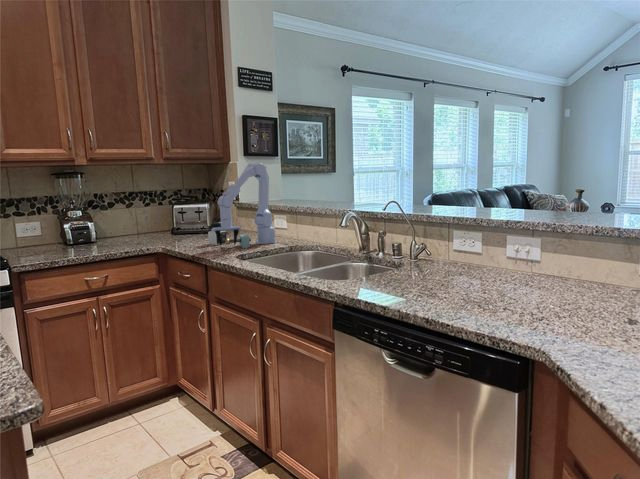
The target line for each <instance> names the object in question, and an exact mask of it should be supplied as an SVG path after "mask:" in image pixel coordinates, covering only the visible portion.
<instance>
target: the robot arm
mask: <svg viewBox="0 0 640 479" xmlns="http://www.w3.org/2000/svg"><path fill="white" fill-rule="evenodd" d="M252 177H254V178H255V179H257V181H258V205H257V206H258V209H257V211H256V212H255V217H254V218H253V220H254V224H255V225H256V229H257V230H256V231H257V233H256V234H257V240H256V244H258V245H263V244H276V234H275V231H276V230H275V226H272V224H273V217H272V212H271V211H270V210H269V200H270V199H269V197H270V196H269V193H270V190H269V188H270V187H269V186H270V176H269V174H268V171H267V167H266V165H265V164H264V163H262V162H250V163H248V164H247V166H246V167H244V170H243V171H242V173H241V175H240V176H239V177H238V179H237V180H236V181H235V183H231V185H230V184H229V185H228V188H227V190H226V191H225V192H222V195H220V196H219V197H218V198H217V201H216V202H217V206H219V214H220V215H219V216H220V223H221V227H217V228H213V232H215V233H216V235H217V237H218V239H219V242H220V245H219V246H222V245H223V244H221V233H220V231H226V232H230V231H232V232H233V239H234V243H233V244H234V245H236V244H237V242H236V239H238V235H239V232H240V231H242V226H241V225H240V226H239V225H236V226H235V225H234V226H233V218H232V216H233V215H232V206H233V204H234V200H235V198H237V196H239V193H240V192H241V188H242V186H243V185H244V184H245V183H246V182H247V181H248V179H249V178H252Z"/></svg>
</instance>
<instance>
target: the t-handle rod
mask: <svg viewBox="0 0 640 479" xmlns="http://www.w3.org/2000/svg"><path fill="white" fill-rule="evenodd" d="M225 242H226V245H227V246H229V245H230V244H232V243H233V244H234V238H233V239H229V238H228V237H226V239H225ZM240 242H241V239H240V238H237V239H236V243H240ZM251 242H252V239H251V238H250V237H249V243H251Z"/></svg>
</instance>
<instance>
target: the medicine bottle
mask: <svg viewBox="0 0 640 479" xmlns="http://www.w3.org/2000/svg"><path fill="white" fill-rule="evenodd" d="M217 227H221V221H220V222H218V221H217V222H212V223H211V224H210V231H208V232H207V233H208V234H207V236H208V245H211V246H221V245H220V242H219V239H218V237H217V235H216V233H215V232H213V228H217ZM220 233H221V244H222V245H225V244H226V242H225V239H226V238H227V231H220ZM226 245H227V244H226Z"/></svg>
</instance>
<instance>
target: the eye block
mask: <svg viewBox="0 0 640 479" xmlns="http://www.w3.org/2000/svg"><path fill="white" fill-rule="evenodd" d="M249 238H250V236H249V235H248V233H246V234H239V239H241V242H239V245H240V248H242V249H247V248H248V247H250V242H249Z"/></svg>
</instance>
